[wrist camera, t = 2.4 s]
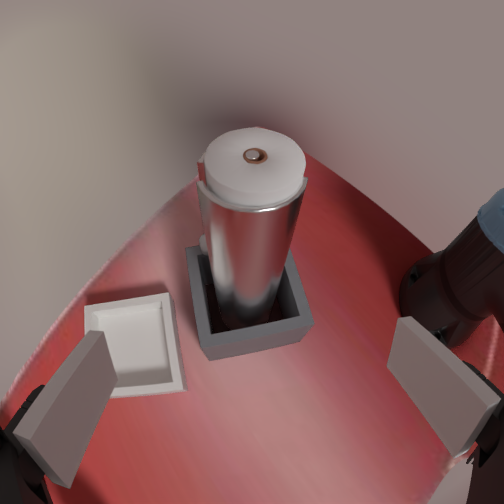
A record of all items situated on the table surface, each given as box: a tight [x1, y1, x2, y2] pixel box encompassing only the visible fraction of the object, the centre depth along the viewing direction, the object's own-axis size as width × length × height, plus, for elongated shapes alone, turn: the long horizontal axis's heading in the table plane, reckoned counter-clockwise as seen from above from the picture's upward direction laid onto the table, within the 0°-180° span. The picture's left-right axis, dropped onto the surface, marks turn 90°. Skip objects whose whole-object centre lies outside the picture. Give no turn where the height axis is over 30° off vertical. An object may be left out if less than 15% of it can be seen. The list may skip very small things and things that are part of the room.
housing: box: [185, 233, 314, 361], centre depth 32 cm, size 11×12×10 cm
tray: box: [84, 292, 188, 398], centre depth 31 cm, size 12×12×3 cm
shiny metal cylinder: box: [196, 128, 308, 330], centre depth 26 cm, size 6×6×25 cm
